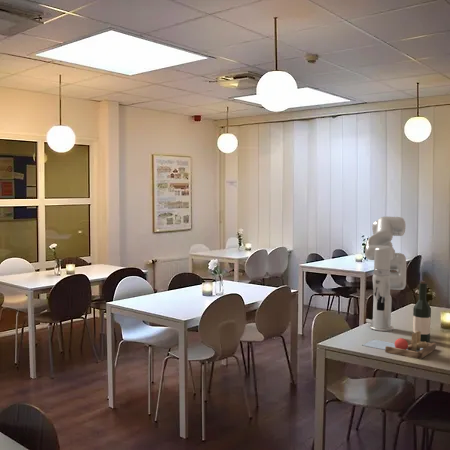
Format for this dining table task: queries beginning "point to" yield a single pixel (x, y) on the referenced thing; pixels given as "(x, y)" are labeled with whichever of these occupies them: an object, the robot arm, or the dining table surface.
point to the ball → (401, 343)
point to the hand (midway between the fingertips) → (380, 310)
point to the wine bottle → (422, 314)
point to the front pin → (418, 345)
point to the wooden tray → (413, 354)
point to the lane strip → (380, 344)
